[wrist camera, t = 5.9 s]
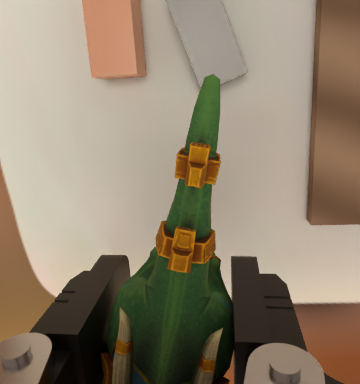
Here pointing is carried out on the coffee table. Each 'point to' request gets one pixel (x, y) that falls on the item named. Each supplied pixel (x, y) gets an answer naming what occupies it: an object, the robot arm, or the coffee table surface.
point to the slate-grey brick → (207, 38)
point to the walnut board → (335, 116)
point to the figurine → (178, 279)
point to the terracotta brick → (114, 38)
